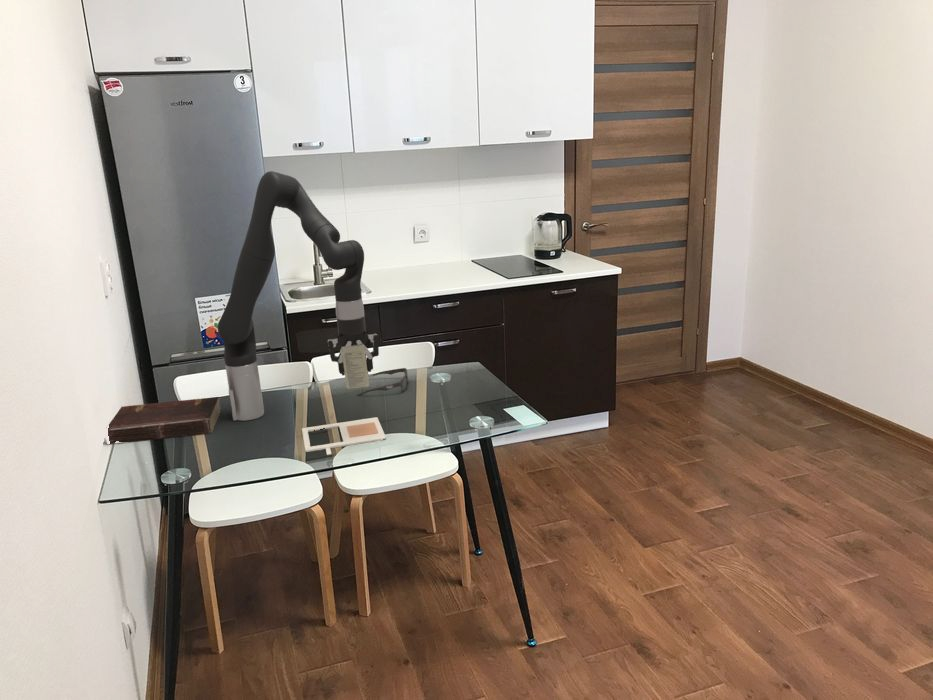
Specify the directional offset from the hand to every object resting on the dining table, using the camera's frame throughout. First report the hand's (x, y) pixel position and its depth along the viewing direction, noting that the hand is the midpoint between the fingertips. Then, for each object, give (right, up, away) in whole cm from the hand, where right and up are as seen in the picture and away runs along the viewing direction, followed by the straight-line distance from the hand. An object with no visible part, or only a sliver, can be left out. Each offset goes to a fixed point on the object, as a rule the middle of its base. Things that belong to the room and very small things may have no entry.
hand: (356, 372), depth 207 cm
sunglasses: (+3, -7, +40) cm, 41 cm away
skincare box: (0, -4, +1) cm, 4 cm away
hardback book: (-59, -17, +17) cm, 64 cm away
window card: (-4, -18, +2) cm, 19 cm away
